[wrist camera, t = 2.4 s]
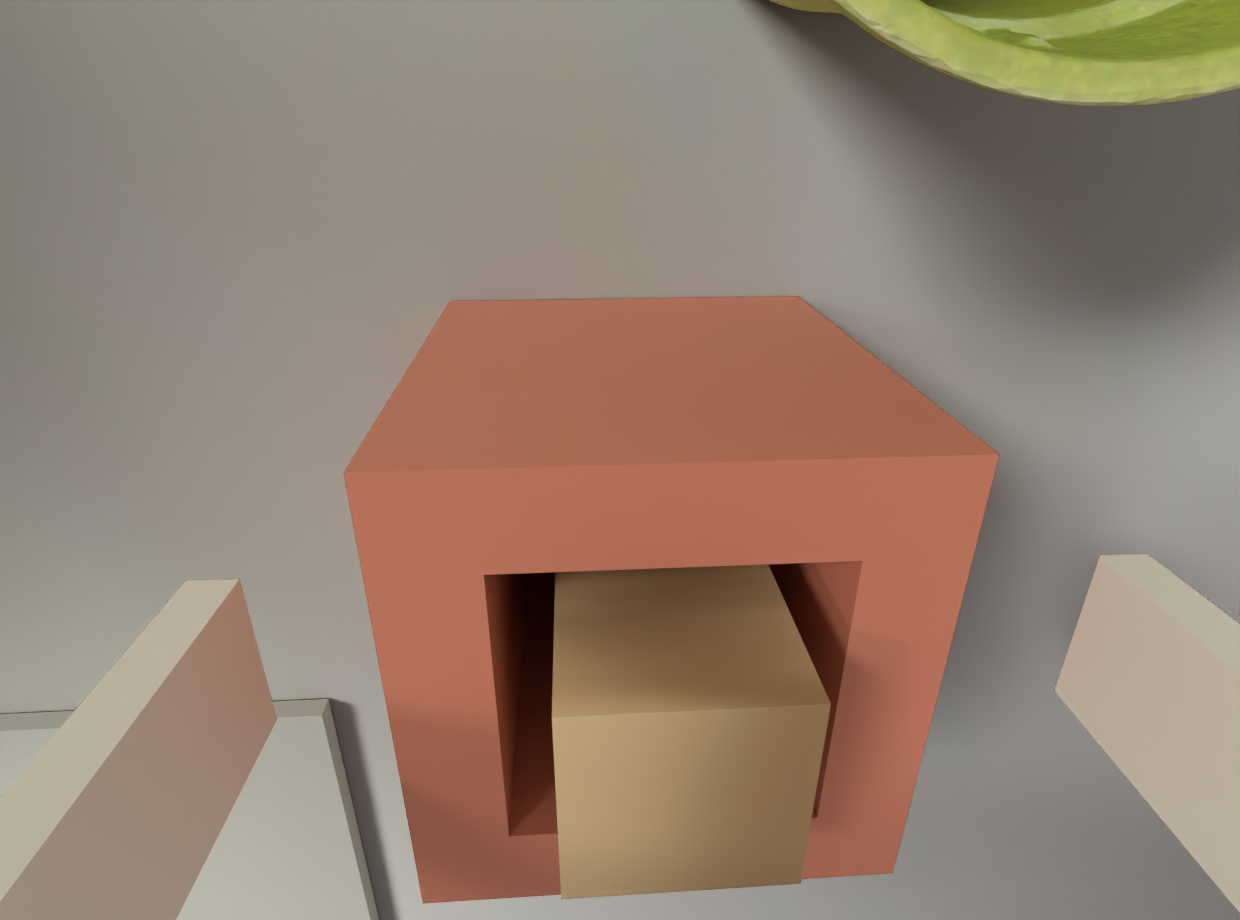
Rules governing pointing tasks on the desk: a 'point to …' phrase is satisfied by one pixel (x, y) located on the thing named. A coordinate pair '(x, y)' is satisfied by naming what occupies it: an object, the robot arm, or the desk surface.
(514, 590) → the salmon square sleeve
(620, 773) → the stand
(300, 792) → the coaster
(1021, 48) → the plant pot
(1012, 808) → the desk surface
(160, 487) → the desk surface
